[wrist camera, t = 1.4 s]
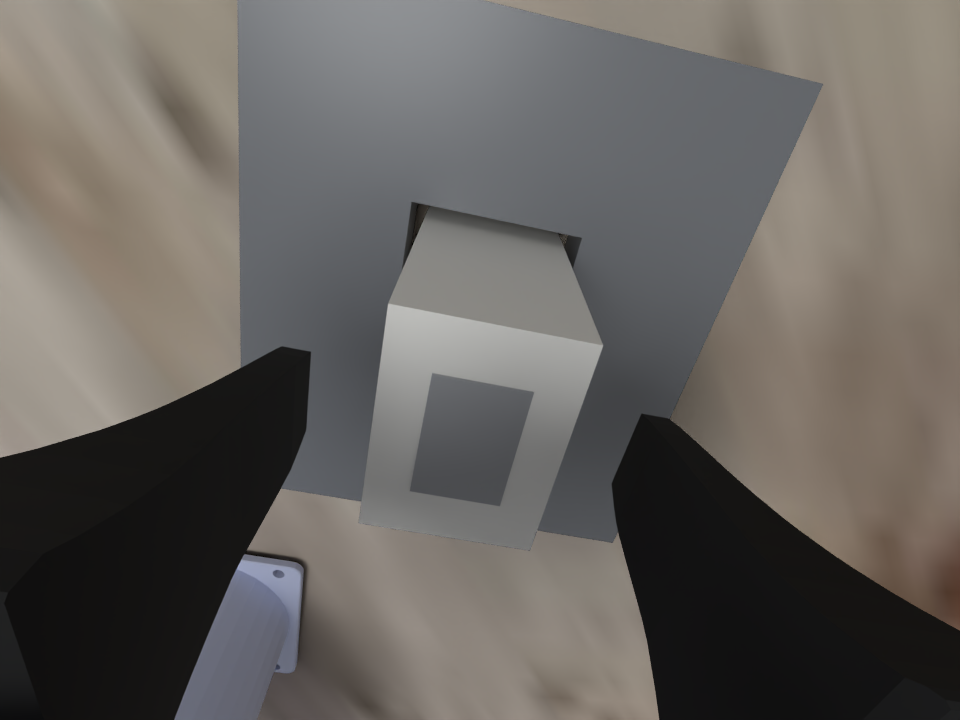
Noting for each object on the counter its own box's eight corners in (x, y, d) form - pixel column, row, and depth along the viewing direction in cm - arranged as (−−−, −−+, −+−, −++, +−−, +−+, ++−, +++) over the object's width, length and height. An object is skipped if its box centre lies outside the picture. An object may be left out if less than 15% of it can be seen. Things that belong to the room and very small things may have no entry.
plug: (406, 355, 19) (357, 524, 12) (431, 202, 17) (387, 304, 10) (515, 376, 20) (529, 552, 13) (556, 229, 17) (603, 346, 10)
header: (262, 447, 21) (241, 481, 20) (269, -45, 14) (237, -61, 12) (603, 505, 22) (612, 542, 21) (784, 81, 15) (823, 84, 13)
